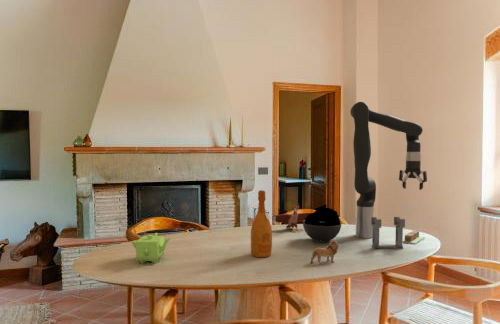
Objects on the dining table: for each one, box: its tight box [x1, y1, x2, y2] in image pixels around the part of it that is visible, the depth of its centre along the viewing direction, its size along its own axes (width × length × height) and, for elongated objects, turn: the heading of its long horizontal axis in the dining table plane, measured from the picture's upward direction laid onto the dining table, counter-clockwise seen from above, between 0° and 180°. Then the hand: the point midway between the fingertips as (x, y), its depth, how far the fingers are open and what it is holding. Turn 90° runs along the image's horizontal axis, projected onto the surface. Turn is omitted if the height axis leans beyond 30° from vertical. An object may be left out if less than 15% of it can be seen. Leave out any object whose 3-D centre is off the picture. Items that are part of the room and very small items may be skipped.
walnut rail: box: [404, 230, 420, 242], centre depth 201 cm, size 15×3×3 cm, turn 140°
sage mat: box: [402, 235, 425, 245], centre depth 201 cm, size 17×8×1 cm, turn 140°
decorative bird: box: [271, 203, 311, 233], centre depth 221 cm, size 28×18×15 cm, turn 111°
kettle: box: [130, 232, 173, 264], centre depth 162 cm, size 15×14×11 cm
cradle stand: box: [371, 216, 406, 250], centre depth 184 cm, size 15×6×15 cm, turn 95°
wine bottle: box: [250, 189, 273, 258], centre depth 171 cm, size 10×10×30 cm
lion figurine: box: [309, 240, 339, 265], centre depth 161 cm, size 15×5×9 cm, turn 119°
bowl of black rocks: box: [302, 204, 342, 243], centre depth 197 cm, size 20×20×19 cm
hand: (412, 189), depth 207 cm, fingers open, 8 cm apart
